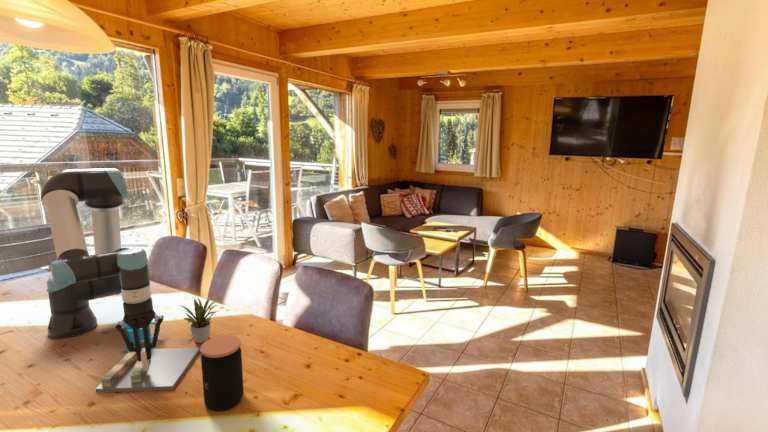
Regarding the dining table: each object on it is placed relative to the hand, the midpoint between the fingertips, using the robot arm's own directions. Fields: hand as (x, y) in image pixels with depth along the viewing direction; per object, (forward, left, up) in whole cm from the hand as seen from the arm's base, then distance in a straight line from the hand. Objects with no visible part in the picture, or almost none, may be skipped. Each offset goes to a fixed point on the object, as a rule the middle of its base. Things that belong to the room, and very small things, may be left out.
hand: (146, 368), depth 122 cm
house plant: (-23, +10, -3) cm, 25 cm away
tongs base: (-4, -7, -2) cm, 8 cm away
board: (-4, 0, -3) cm, 5 cm away
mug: (-21, -11, -3) cm, 24 cm away
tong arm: (-2, -3, -1) cm, 4 cm away
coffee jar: (+13, +28, -3) cm, 31 cm away
